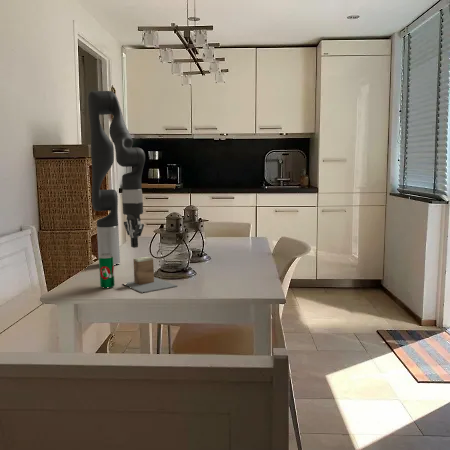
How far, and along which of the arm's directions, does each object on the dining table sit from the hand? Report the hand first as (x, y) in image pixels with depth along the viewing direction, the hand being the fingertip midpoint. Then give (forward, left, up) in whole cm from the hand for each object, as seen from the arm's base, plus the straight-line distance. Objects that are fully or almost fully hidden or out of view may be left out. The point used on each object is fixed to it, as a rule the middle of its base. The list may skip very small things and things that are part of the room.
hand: (134, 247), depth 181 cm
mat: (+11, 0, -13) cm, 17 cm away
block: (+7, 0, -12) cm, 14 cm away
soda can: (+3, -13, -13) cm, 18 cm away
